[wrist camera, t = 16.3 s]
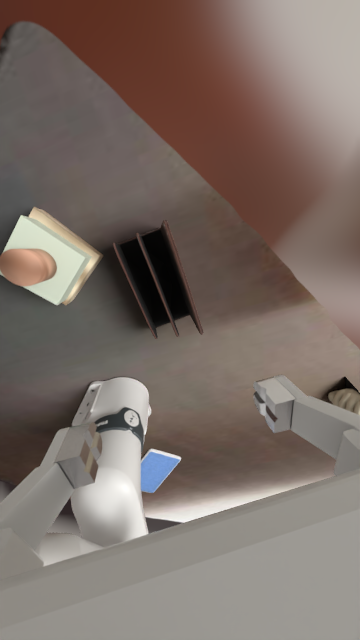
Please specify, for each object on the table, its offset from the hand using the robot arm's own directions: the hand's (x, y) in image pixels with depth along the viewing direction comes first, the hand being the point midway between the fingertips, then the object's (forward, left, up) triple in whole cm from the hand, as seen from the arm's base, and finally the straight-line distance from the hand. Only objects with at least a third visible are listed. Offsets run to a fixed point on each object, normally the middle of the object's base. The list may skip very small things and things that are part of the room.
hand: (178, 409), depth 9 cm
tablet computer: (-51, -38, -36) cm, 73 cm away
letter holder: (+1, 0, -36) cm, 36 cm away
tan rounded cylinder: (-8, +17, -28) cm, 34 cm away
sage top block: (-8, +17, -32) cm, 37 cm away
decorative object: (+10, -71, -35) cm, 80 cm away
